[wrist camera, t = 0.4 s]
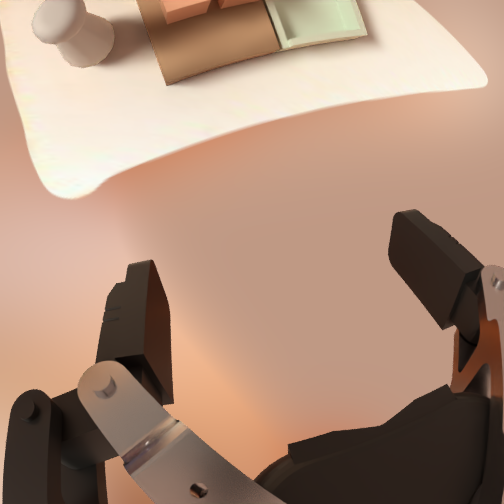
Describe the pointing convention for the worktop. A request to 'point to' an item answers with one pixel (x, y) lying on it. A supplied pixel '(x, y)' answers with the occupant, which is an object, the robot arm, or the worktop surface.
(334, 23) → the tray
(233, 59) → the board
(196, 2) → the light orange cube
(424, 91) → the worktop surface
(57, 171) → the worktop surface
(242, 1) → the peach cube
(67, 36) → the salt shaker
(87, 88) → the worktop surface
